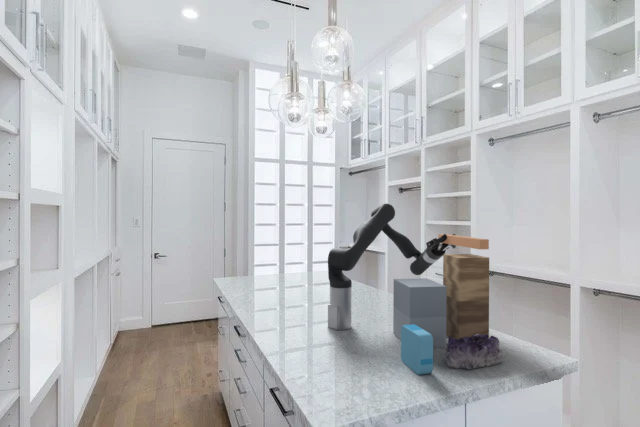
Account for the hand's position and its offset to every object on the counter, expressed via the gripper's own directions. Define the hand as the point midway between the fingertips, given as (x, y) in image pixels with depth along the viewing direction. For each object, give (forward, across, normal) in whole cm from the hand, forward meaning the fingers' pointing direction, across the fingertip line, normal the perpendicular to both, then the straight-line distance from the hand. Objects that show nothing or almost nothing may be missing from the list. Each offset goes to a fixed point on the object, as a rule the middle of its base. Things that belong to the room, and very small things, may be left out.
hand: (450, 236), depth 148 cm
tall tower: (-10, 0, +39) cm, 41 cm away
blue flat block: (+9, -30, +51) cm, 60 cm away
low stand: (-10, -19, +39) cm, 45 cm away
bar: (+5, 0, +7) cm, 9 cm away
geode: (+9, -10, +50) cm, 52 cm away
